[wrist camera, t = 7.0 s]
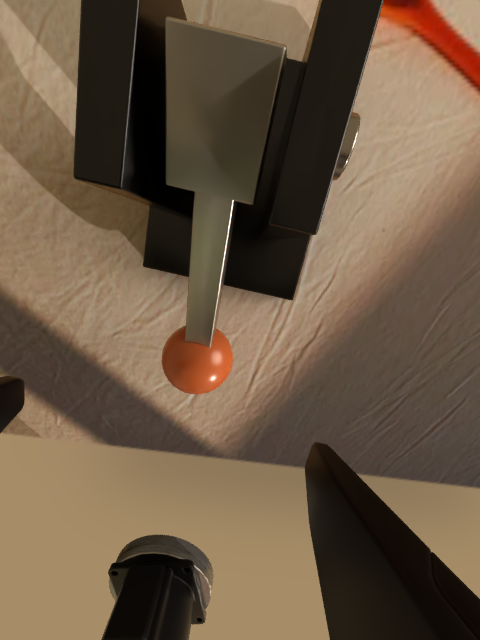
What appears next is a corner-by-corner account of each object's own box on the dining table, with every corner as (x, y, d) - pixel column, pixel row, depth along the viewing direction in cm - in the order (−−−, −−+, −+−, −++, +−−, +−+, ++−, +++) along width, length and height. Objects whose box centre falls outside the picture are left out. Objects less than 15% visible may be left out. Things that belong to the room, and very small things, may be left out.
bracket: (290, 297, 15) (344, 373, 6) (149, 265, 15) (-1, 297, 6) (348, 87, 12) (591, -305, 4) (177, 45, 12) (-20, -474, 3)
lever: (231, 360, 15) (221, 414, 12) (174, 348, 15) (152, 399, 12) (306, 61, 7) (317, 50, 4) (182, 31, 7) (125, 2, 4)
